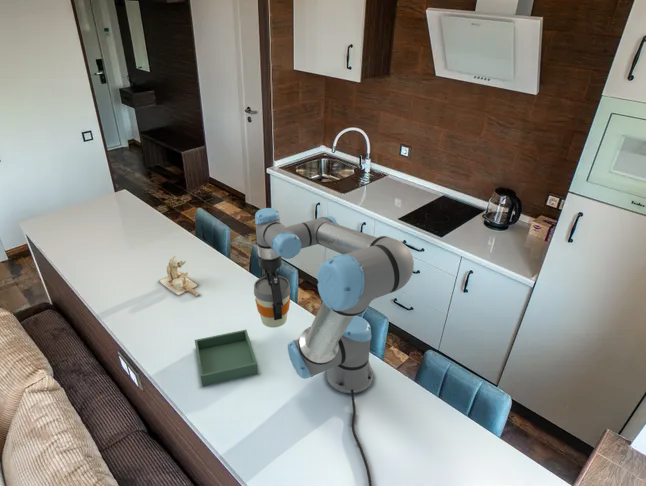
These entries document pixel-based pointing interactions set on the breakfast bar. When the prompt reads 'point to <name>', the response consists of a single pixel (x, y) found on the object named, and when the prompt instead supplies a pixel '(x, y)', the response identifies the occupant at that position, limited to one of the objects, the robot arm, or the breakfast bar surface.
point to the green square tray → (225, 357)
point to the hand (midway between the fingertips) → (273, 308)
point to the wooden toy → (178, 279)
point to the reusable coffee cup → (271, 301)
